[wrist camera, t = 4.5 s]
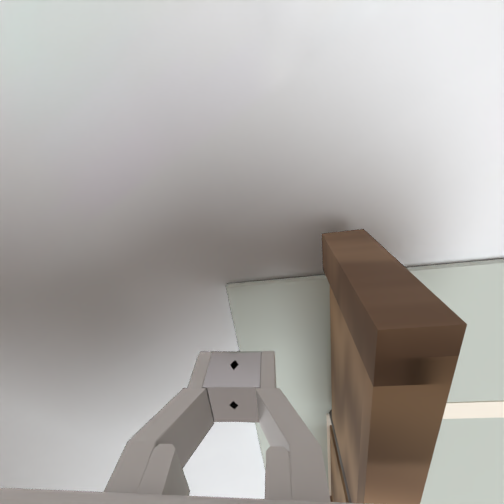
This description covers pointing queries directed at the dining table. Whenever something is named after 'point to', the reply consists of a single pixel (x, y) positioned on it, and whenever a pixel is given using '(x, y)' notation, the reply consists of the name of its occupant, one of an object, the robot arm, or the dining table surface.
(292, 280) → the card
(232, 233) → the dining table surface
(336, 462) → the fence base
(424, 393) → the hinged fence panel
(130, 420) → the dining table surface
